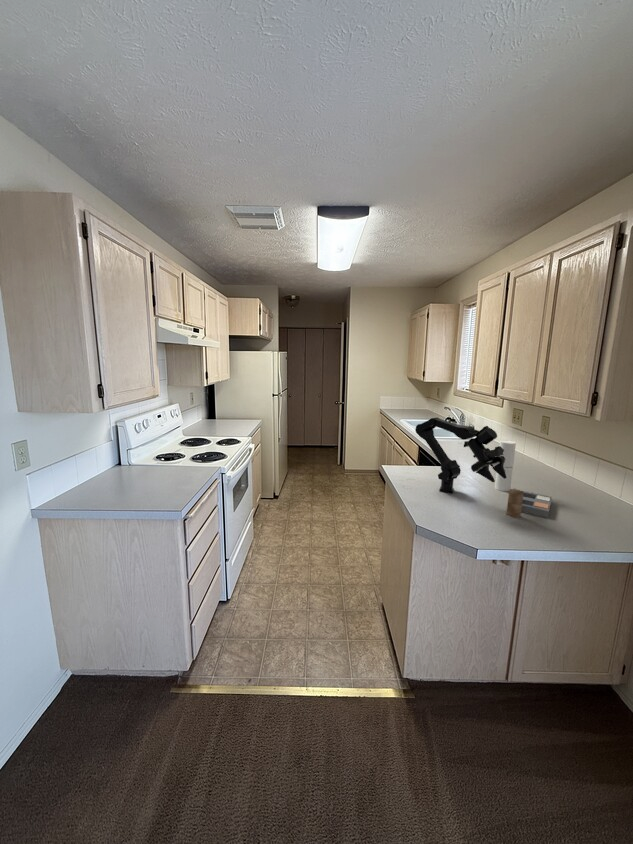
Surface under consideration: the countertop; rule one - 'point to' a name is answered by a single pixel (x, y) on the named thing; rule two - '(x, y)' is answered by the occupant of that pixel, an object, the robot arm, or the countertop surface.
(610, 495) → the countertop surface
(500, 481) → the cylindrical container
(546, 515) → the socket block
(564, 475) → the countertop surface
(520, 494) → the brown wooden block
